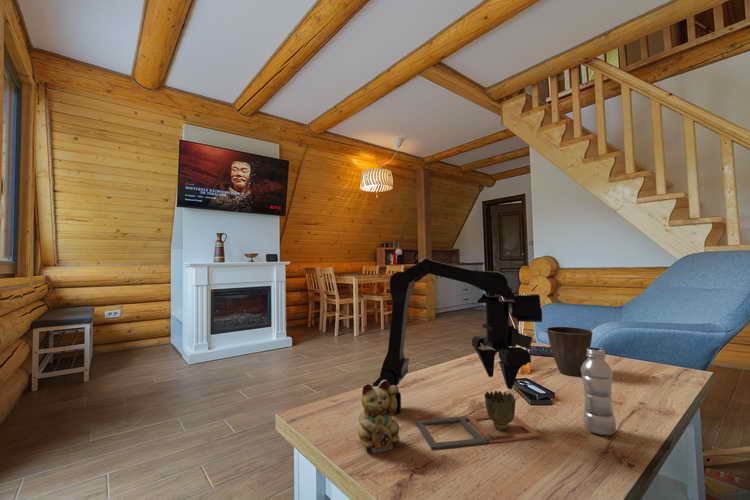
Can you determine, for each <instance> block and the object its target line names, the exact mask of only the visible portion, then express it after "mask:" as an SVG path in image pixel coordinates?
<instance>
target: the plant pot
mask: <svg viewBox="0 0 750 500" xmlns="http://www.w3.org/2000/svg"><path fill="white" fill-rule="evenodd" d="M546 331H547V337H548V343H549V345H550V350H551V353H552V356H553V359H554V362H555V364H556V367H557V369H558V371H559V373H560V374H562V375H565V376H569V377H570V376H571V377H579V376H581V377H582V373H581V366H582V364H583V363H584V362H585V361H586V360H587V358H588V356H587V355H586V354H587V348H590V347H591V346H592V340H593V339H592V338H593V331H591V330H589V329H585V328H579V327H570V326H569V327H568V326H551V327H547V328H546Z"/></svg>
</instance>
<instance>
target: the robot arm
mask: <svg viewBox="0 0 750 500" xmlns="http://www.w3.org/2000/svg"><path fill="white" fill-rule="evenodd" d="M429 274H430V275H433V276H437V277H442V278H446V279H449V280H454V281H457V282H461V283H465V284H468V285H471V286H473V287H475V288H477V289H479V290H481V291H483V292H486V293H489V294H490V295H491V296H490V295H487V294H486V293H482V296H481V297H480V298H479V299H478V300H477V303H478V304H485V305H484V306H485V323H482V328H483V329H485V330H486V331H485V332H486V335H474V337H472V339H471V346H472V348H474V351H475V352H476V354H477V356H478V357H479V360H480V361H481V363H482V365H483V368H484V370H485V372H486V374H487V376H488V377H489V378H493V376H494V372H495V356H496V355H497V354H498V358H499V361H498V364H499V367H500V371H501V374H502V376H503V380H504V383H505V385H506V388H507V389H508V390H513V388H514V384H515V383H516V382H515V381H516V378H517V375H518V373H519V371H520V369H521V368H522V367H524V366H527V365H528V364H531V363H532V354H531V352H530V351H529V350H530V349H531V345H532V341H533V337H531V336H528V335H525V334H523V333H520V332H519V329H518V328H516V327H514V325H512V324H511V323H510V321H511V320H510V305H511V316H512V318H514V319H516V321H517V322H520V323H521V322H523V323H524V322H525V323H526V322H527V323H542V322H543V309H542V304H541V298H540V297H541V295H539V294H537V293H536V294H534V293H533V294H516V293H515V290H513V289H512V288H511V287H510V285H509V280H508V277H507V276H506V274H504V273H503V272H500V271H493V270H478V269H477V270H476V269H474V270H473V269H469V268H465V267H461V266H457V265H453V264H448V263H444V262H439V261H435V260H433V259H431V258H424V259H422V260H420V261H419V262H417V263H416V264H413V266H410V267H408V268H407V269H405V270H404V271H397V272H395V273H393V274H392V275H391V276H390V278H389V293H390V297H391V300H392V301H391V302H392V308H391V318H390V325H389V326H390V327H389V338H388V347H387V353H386V355H385V357H384V360H383V362H382V365H381V370H380V373H379V377H378V378H377V379H376V380H375V381H374V382H373V383H372V384H371V386H372V387H375V386H379V384H380V382H381V381H383V380H387V381H388V382H389V386H392V385H394V386H396V387H397V388H398V389H399V390H400V388H399V387H398V385H400V382H401V381H402V380H403V379H404V378H405V377H406V375H407V374H408V373H409V371H410V370H409V364H410V363H409V362H410V358H409V357H405V354H404V347H405V339H406V338H405V337H406V328H407V327H406V326H407V319H408V317H407V316H408V310H409V309H408V308H409V303H410V300H411V297H412V295H413V293H414V288H415V287H416V283H417V282H419V281H420V280H422V279H424V278H425V277H426V276H428V275H429ZM500 296H501V297H503V298H504V299H500ZM505 299H506V300H505ZM401 394H402V393H401V392H400V391H399V392H398V393H397V394H395V396H396V400H397V410H396V412H395V413H394V414H401V413H402V411H401V408H402V395H401ZM394 414H393V415H394Z"/></svg>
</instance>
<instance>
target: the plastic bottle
mask: <svg viewBox="0 0 750 500" xmlns="http://www.w3.org/2000/svg"><path fill="white" fill-rule="evenodd" d="M586 355H587V356H588V358H587V360H586V361H585V362H584V363H583V364H582V366H581V373H582V375H581V377H582V382H583V390H584V410H583V417H582V419H583V423H584V426H585V428H586V429H587V431H590V432H591V433H593V434H596V435H600V436H612V435H614V433H615V432H616V429H617V422H616V417H615V415H614V409H613V402H612V385H613V376H614V373H613V370H612V367H610V365H609V364H608V362H607V361H606V360H605V359H606V351H605V349H604V348H600V347H590V348H587V354H586Z"/></svg>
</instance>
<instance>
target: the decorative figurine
mask: <svg viewBox="0 0 750 500" xmlns="http://www.w3.org/2000/svg"><path fill="white" fill-rule="evenodd" d="M397 387H398V386H397ZM397 387H396V386H394V385H392V386H389V382H388V381H387V380H383V381H381V382H380V384H379V386H375V387H373V386H372V384H370V383H365V384H364V385H363V387H362V390H361V391H362V395H361V398H360V399H361V404H362V407H363V410H362V411H361V412H360V414H359V416H358V422H359V426H358V428H357V434H358V437H359V440H360V442H361V445H362V446H363V447H364V448H365V449H369V450H370V451H371V453H373V454H375V453H381V452H386V451H390V450H393V444H395V443H397V442H400V440H401V439H400V436H399V433H400V424H399V422H398V421H397V420H394V419H392V416H393V415H394V413H395V412H396V410H397V400H396V396H395V394H397V393H398V392H400V388H399V387H398V388H399V389H398V388H397Z"/></svg>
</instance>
